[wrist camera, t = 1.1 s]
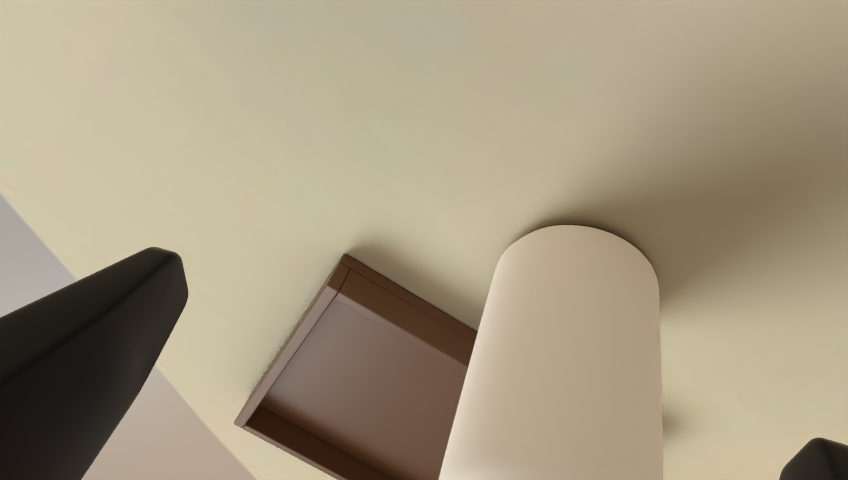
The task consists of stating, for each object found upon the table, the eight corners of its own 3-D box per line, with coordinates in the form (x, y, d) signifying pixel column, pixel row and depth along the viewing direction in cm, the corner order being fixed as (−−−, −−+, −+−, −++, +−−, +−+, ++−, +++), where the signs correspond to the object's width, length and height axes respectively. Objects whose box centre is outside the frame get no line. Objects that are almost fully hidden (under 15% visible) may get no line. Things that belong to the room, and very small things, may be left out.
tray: (650, 434, 30) (650, 473, 29) (484, 523, 40) (478, 555, 39) (344, 252, 28) (326, 284, 26) (250, 395, 38) (233, 424, 37)
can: (611, 193, 22) (587, 509, 14) (687, 312, 25) (709, 644, 16) (466, 251, 26) (373, 530, 17) (546, 350, 28) (500, 638, 20)
